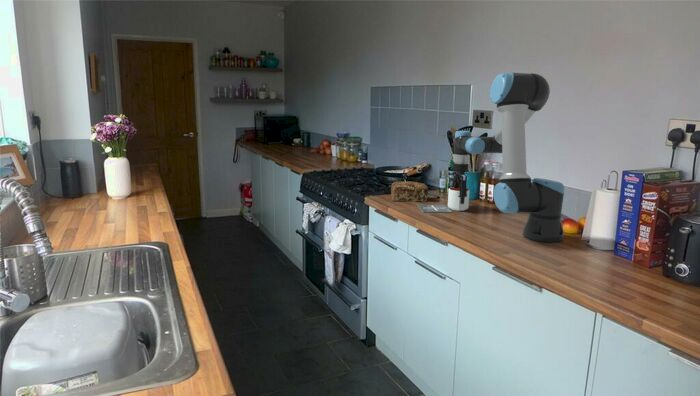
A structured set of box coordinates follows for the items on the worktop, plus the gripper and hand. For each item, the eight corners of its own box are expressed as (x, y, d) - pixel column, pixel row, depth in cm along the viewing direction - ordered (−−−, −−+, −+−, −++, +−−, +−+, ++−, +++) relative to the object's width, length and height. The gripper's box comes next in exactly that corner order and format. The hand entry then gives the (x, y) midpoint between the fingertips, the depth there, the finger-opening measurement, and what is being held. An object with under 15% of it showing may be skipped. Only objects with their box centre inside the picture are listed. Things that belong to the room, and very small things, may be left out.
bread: (392, 201, 246) (393, 183, 244) (390, 197, 257) (391, 179, 254) (427, 202, 246) (428, 183, 244) (424, 198, 257) (425, 180, 255)
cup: (470, 211, 227) (471, 191, 225) (449, 211, 228) (450, 191, 225) (465, 206, 237) (467, 187, 235) (445, 206, 237) (447, 187, 235)
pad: (452, 212, 224) (452, 211, 224) (423, 212, 223) (423, 211, 223) (444, 206, 238) (444, 204, 238) (417, 206, 237) (417, 204, 237)
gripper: (476, 166, 217) (472, 213, 221) (461, 159, 239) (458, 202, 243) (460, 166, 216) (456, 213, 221) (447, 159, 238) (444, 202, 243)
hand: (457, 207), depth 232 cm, fingers closed on cup, 10 cm apart
